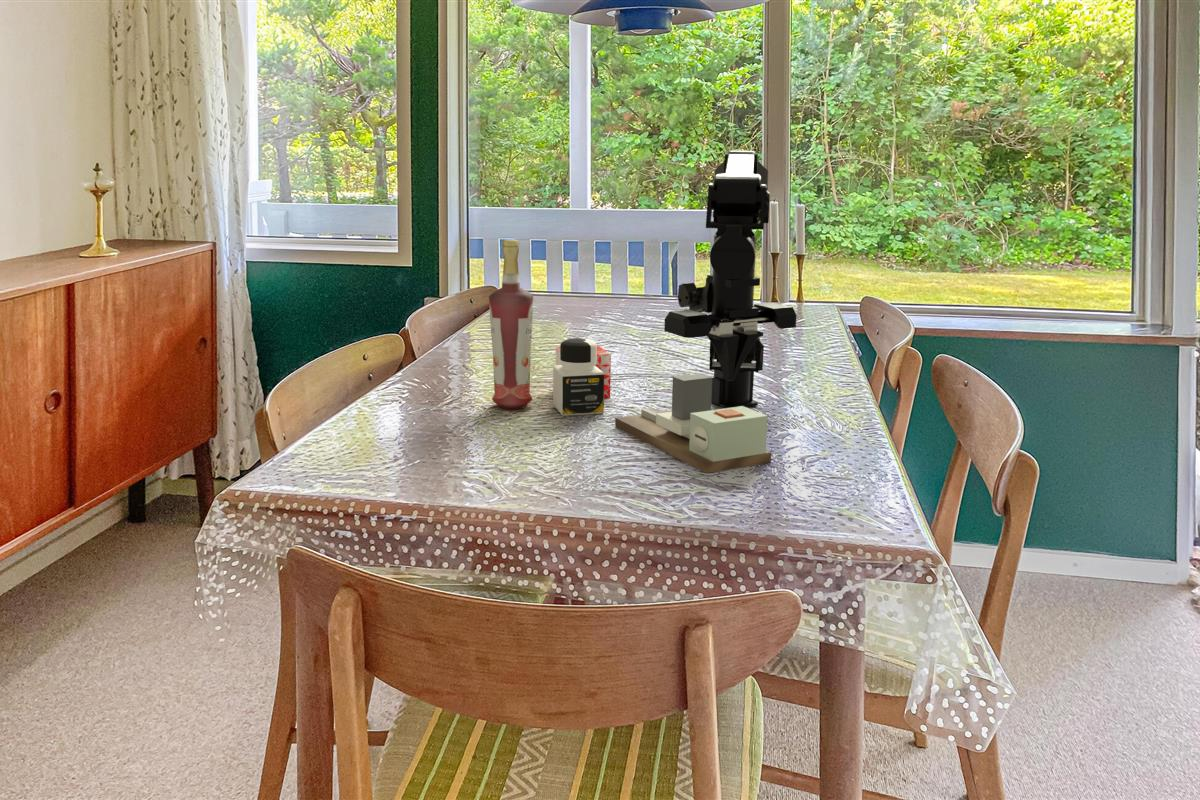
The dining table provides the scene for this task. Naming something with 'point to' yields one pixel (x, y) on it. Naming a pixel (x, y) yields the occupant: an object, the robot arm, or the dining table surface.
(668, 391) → the dining table surface
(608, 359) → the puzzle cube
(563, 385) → the medicine bottle
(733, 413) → the button
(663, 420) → the carriage
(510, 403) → the liquor
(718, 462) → the rail track
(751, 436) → the cabinet
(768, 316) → the robot arm
